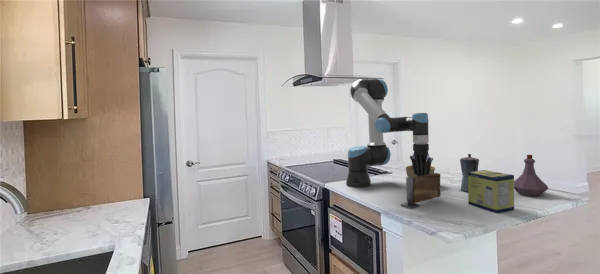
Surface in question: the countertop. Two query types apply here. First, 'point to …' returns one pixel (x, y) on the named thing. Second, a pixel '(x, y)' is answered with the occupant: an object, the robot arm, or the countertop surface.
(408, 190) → the gate post
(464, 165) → the moka pot
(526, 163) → the flask
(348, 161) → the robot arm
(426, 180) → the gate
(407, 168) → the planter bowl
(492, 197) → the protein box
